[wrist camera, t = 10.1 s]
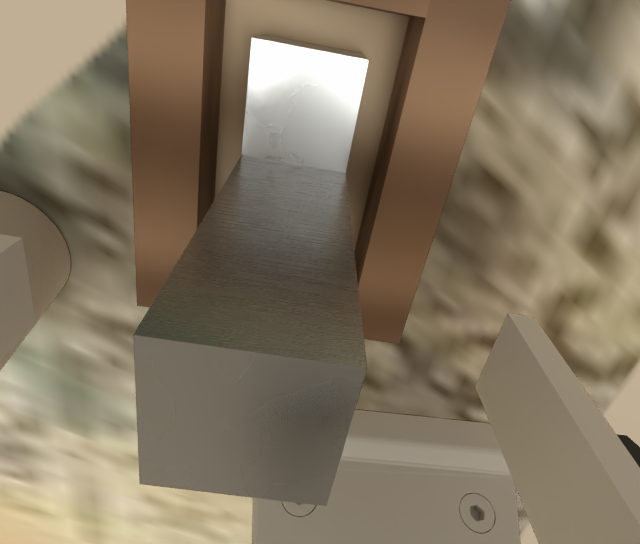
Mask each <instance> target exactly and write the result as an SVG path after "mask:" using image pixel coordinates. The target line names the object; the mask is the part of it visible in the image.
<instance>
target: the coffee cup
mask: <svg viewBox="0 0 640 544" xmlns="http://www.w3.org/2000/svg"><path fill="white" fill-rule="evenodd" d="M0 234H2V235H8V236H14V237H21V238H22V239H23V246H24V252H25V258H26V264H27V271H28V277H29V283H30V289H31V296H32V302H33V308H34V314H35V321H36V323H37V321H38V320H39V319H40V317H41V316H42V315H43V313H44V312H45V311H46V309H47V308H48V307H49V305H50V304H51V303H52V301H53V300H54V299H55V297H56V296H57V295H58V293H59V292H60V291H61V289H62V288H63V286H64V285H65V283H66V282H67V280H68V277H69V274H70V268H71V260H70V254H69V250H68V247H67V244H66V242H65V240H64V238H63V236H62V234H61V233H60V231H59V230H58V228H57V227H56V226H55V224H54V223H53V222H52V221H51V220H50V219H49V218H48V217H47V216H46V215H45V214H44V213H43V212H42V211H40V210H39V209H38V208H36V207H35V206H34V205H32V204H31V203H29V202H27V201H25V200H24V199H22V198H20V197H17V196H15V195H13V194H10V193H7V192H4V191H0ZM33 327H34V326H33ZM30 331H31V330H30ZM30 331H29V332H30ZM29 332H28V333H29ZM28 333H27V334H26V335H25V336H24V337H23V338H22V339H21V340H20V341H19V342H18V343H17V344H16V345H15V346H14V347H13V348H12V349H11V350H10V351H9V352H8V353H7V354H6V355H5V356H4V358H3V359H2V360H1V361H0V371H1V369H2V368H3V367H4V365H5V364H6V363H7V361H8V360H9V359H10V357H11V356H12V355H13V353H14V352H15V351H16V349H17V348H18V347H19V345H20V344H21V343H22V341H23V340H24V339H25V337H26V336H27V335H28Z"/></svg>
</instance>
